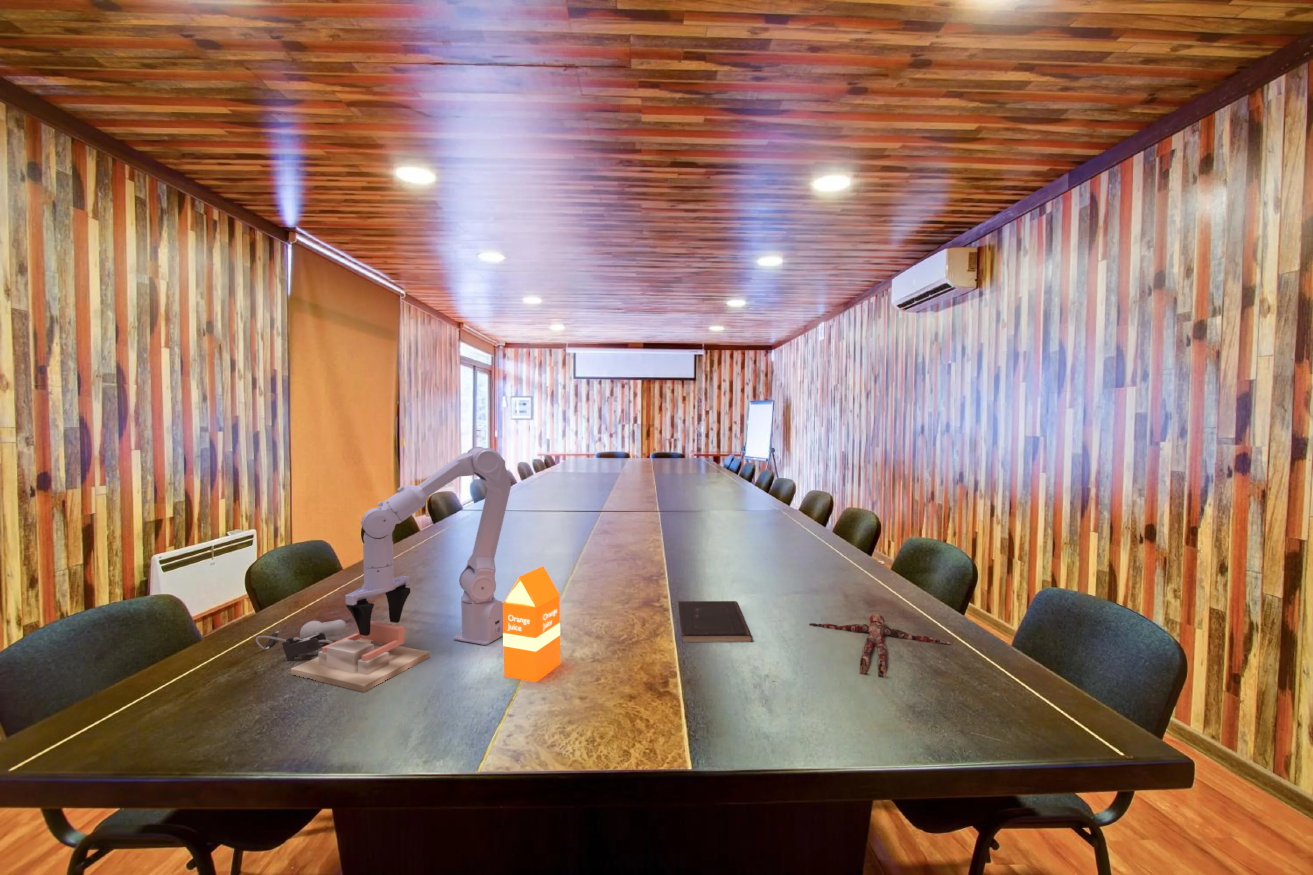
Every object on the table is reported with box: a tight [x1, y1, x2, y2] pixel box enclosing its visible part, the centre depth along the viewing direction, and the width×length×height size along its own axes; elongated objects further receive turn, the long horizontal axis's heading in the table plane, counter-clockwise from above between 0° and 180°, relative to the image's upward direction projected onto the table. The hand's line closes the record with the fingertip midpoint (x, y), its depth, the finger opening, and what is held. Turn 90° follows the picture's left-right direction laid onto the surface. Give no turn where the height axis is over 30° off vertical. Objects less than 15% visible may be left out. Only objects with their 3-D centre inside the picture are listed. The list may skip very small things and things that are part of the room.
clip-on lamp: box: [255, 619, 347, 662], centre depth 120 cm, size 12×6×18 cm
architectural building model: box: [290, 638, 431, 693], centre depth 112 cm, size 16×20×5 cm
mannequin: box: [808, 613, 951, 679], centre depth 122 cm, size 26×29×4 cm
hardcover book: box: [677, 600, 753, 643], centre depth 134 cm, size 16×23×2 cm
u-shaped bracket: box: [321, 620, 406, 661], centre depth 112 cm, size 10×12×3 cm
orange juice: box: [502, 565, 561, 683], centre depth 109 cm, size 8×9×20 cm
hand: (380, 628), depth 116 cm, fingers open, 7 cm apart
